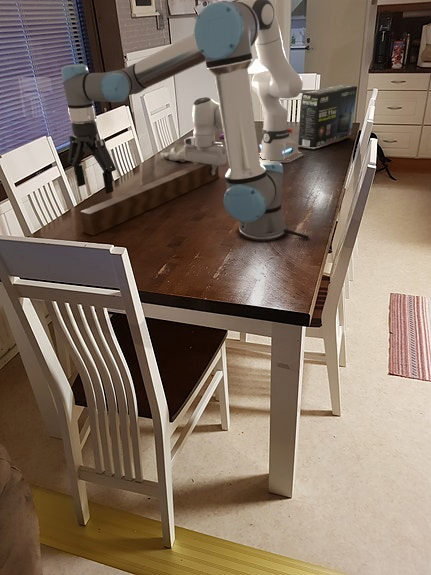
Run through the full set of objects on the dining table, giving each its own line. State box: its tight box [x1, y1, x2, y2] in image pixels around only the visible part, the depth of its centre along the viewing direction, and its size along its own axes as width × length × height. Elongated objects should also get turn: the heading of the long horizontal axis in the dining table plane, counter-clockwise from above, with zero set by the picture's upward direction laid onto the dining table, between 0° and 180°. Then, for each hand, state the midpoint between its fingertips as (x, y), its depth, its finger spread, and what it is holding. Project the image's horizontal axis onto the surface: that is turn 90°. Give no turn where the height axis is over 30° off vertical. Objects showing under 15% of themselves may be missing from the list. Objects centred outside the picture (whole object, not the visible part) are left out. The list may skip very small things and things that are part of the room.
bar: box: [79, 163, 220, 236], centre depth 176 cm, size 71×5×8 cm, turn 144°
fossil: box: [160, 142, 187, 163], centre depth 229 cm, size 18×11×15 cm
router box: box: [297, 84, 358, 151], centre depth 238 cm, size 36×11×27 cm, turn 134°
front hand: (95, 188), depth 150 cm, fingers open, 13 cm apart
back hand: (205, 173), depth 196 cm, fingers open, 6 cm apart
